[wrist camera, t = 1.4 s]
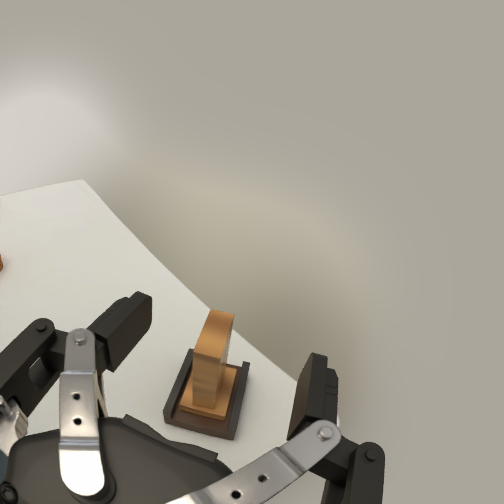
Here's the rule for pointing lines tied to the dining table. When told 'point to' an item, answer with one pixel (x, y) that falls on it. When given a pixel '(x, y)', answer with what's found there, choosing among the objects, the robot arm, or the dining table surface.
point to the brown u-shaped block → (201, 422)
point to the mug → (1, 263)
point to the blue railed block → (3, 465)
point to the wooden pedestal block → (211, 369)
